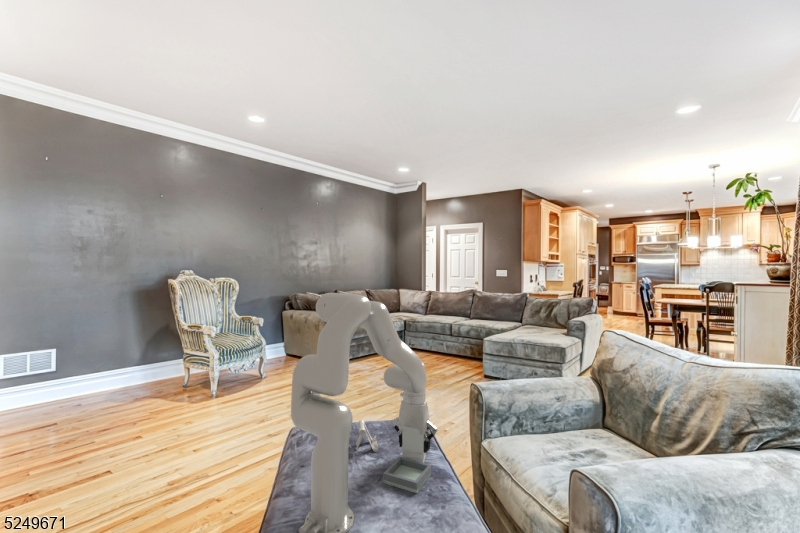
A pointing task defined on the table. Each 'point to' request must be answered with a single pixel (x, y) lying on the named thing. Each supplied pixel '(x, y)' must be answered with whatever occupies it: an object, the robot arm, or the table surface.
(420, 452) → the supplement box
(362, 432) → the portable electronic device stand
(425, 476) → the tray
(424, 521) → the table surface
